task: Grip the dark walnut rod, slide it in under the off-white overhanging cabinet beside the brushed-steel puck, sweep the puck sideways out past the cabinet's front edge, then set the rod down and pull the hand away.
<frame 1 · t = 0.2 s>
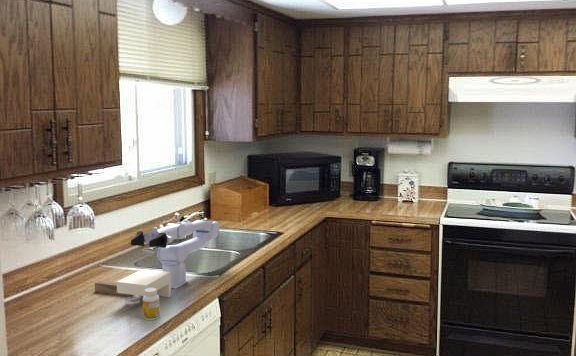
hand: (140, 243, 206), 21 cm above the worktop, tool horizontal, fingers open, 7 cm apart
walnut rod: (115, 293, 218), on the worktop
cabinet: (145, 300, 209), on the worktop
steel puck: (132, 304, 206), on the worktop
supplement bottle: (151, 318, 193), on the worktop
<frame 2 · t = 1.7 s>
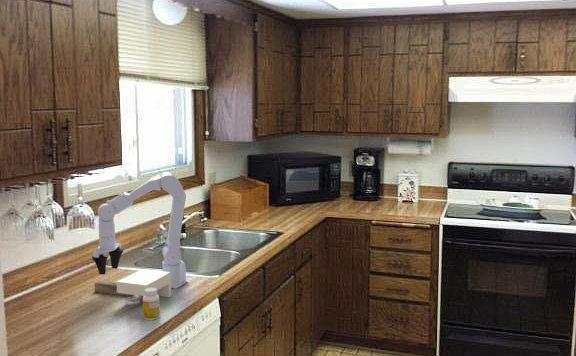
hand: (108, 271, 218), 8 cm above the worktop, tool pointing down, fingers open, 7 cm apart
nothing on the worktop moved.
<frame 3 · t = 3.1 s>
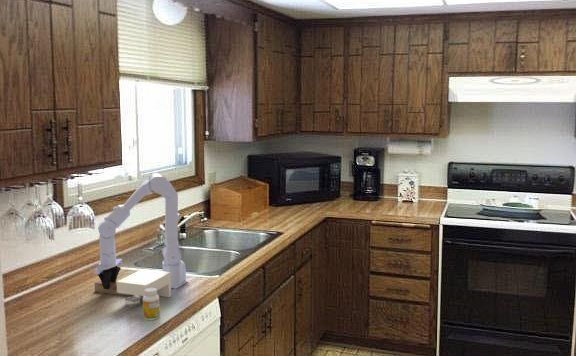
hand: (109, 287, 219), 2 cm above the worktop, tool pointing down, fingers closed on walnut rod, 3 cm apart
walnut rod: (115, 292, 218), on the worktop, touching gripper
everything else where it was.
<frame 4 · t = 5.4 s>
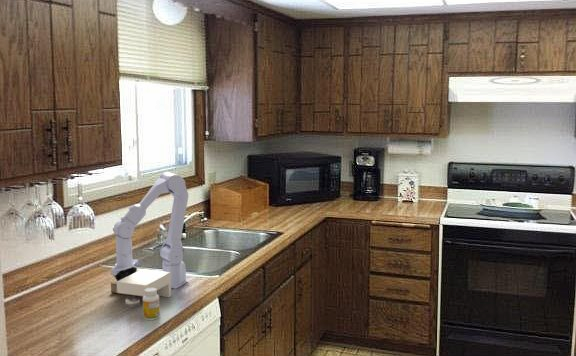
hand: (125, 288, 216), 2 cm above the worktop, tool pointing down, fingers closed on walnut rod, 3 cm apart
walnut rod: (131, 293, 216), on the worktop, touching gripper
everything else where it was.
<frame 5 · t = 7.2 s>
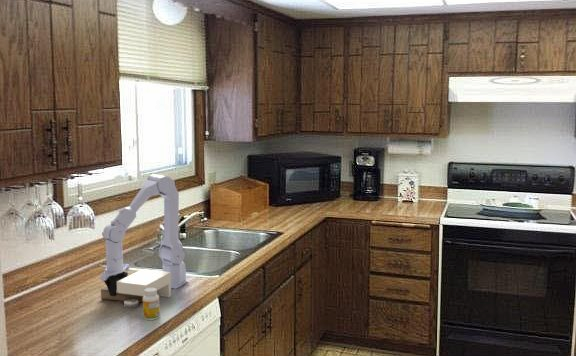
hand: (116, 293, 210), 2 cm above the worktop, tool pointing down, fingers closed on walnut rod, 3 cm apart
walnut rod: (123, 299, 210), on the worktop, touching gripper, steel puck
steel puck: (131, 305, 205), on the worktop, touching walnut rod
everything else where it was.
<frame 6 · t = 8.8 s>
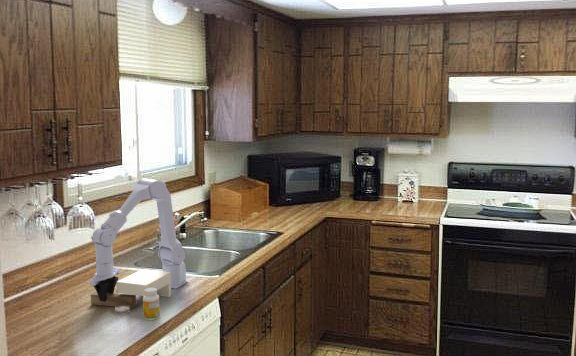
hand: (106, 299, 205), 2 cm above the worktop, tool pointing down, fingers closed on walnut rod, 3 cm apart
walnut rod: (113, 304, 204), on the worktop, touching gripper
steel puck: (122, 311, 199), on the worktop
everything else where it was.
when the fingers open (2 cm above the worktop, at t = 11.3 s): walnut rod stays where it is, on the worktop.
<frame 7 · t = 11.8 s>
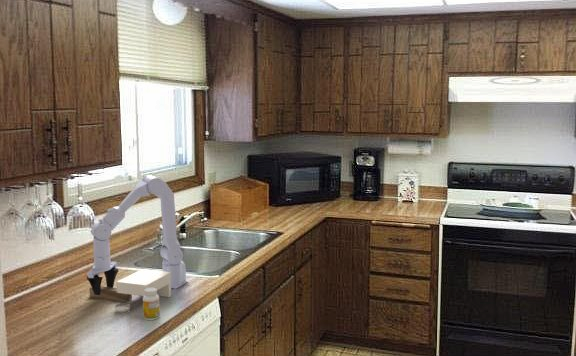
hand: (103, 291, 213), 2 cm above the worktop, tool pointing down, fingers open, 7 cm apart
walnut rod: (110, 298, 213), on the worktop
everything else where it was.
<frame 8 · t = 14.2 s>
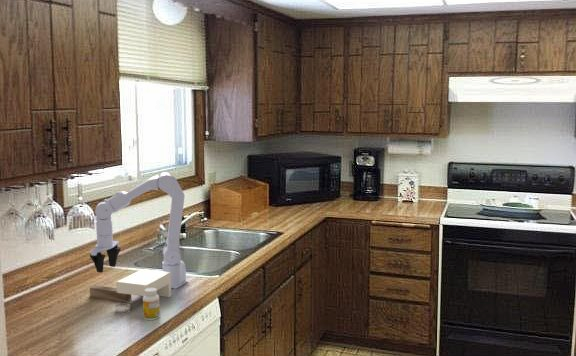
hand: (106, 269, 219), 8 cm above the worktop, tool pointing down, fingers open, 7 cm apart
nothing on the worktop moved.
at the end: steel puck inside the target area (6.9 cm from its centre), on the worktop; the gripper is holding nothing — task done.
